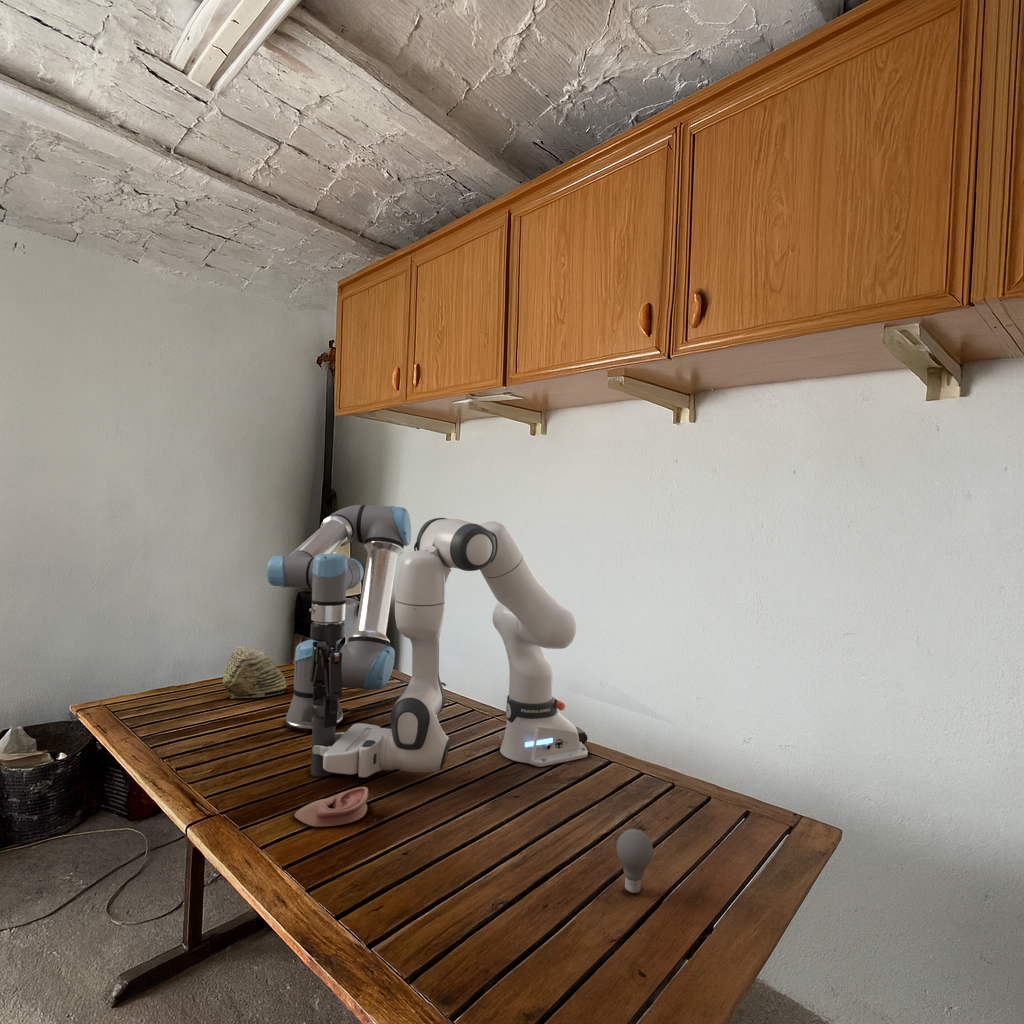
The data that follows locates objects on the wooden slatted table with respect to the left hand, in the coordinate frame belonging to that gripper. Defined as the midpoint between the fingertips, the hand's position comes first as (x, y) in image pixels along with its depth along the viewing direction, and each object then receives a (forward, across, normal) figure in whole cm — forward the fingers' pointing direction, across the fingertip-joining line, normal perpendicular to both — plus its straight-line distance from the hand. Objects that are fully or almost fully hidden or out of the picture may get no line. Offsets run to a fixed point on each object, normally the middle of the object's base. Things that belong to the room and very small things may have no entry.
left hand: (324, 720), depth 145 cm
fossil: (+12, -64, -1) cm, 65 cm away
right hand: (+5, 0, -1) cm, 5 cm away
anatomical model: (+12, +20, -4) cm, 24 cm away
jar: (+12, 0, 0) cm, 12 cm away
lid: (-4, 0, 0) cm, 4 cm away
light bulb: (+12, +69, +30) cm, 76 cm away
